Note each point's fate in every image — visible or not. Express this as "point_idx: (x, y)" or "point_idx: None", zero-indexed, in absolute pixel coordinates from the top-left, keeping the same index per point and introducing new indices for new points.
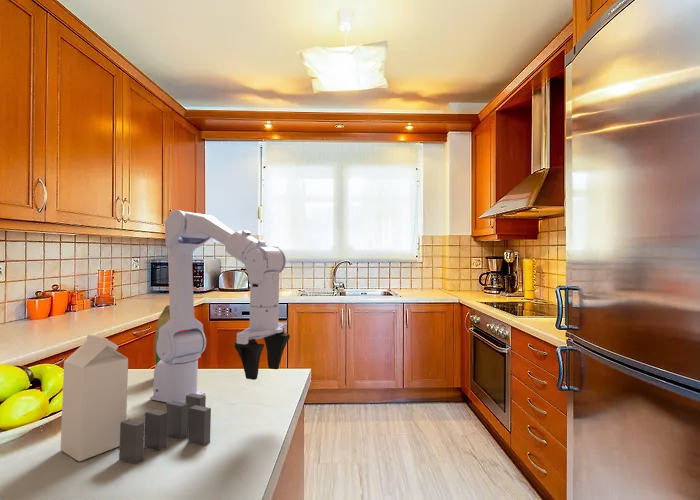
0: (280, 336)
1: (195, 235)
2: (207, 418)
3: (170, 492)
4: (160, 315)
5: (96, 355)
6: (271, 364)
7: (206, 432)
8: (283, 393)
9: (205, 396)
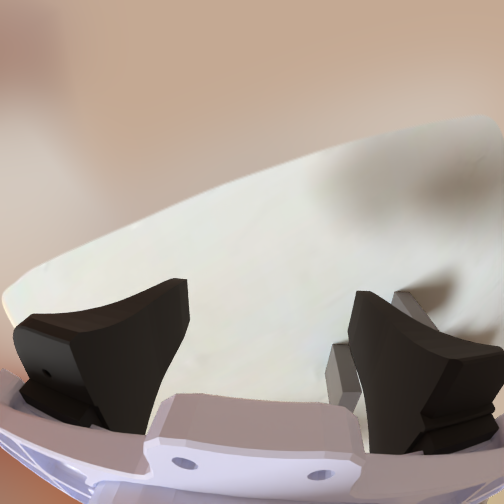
0: (90, 380)
1: None
2: (423, 319)
3: None
4: None
5: (487, 499)
6: (183, 317)
7: (413, 304)
8: (95, 282)
9: (343, 391)
